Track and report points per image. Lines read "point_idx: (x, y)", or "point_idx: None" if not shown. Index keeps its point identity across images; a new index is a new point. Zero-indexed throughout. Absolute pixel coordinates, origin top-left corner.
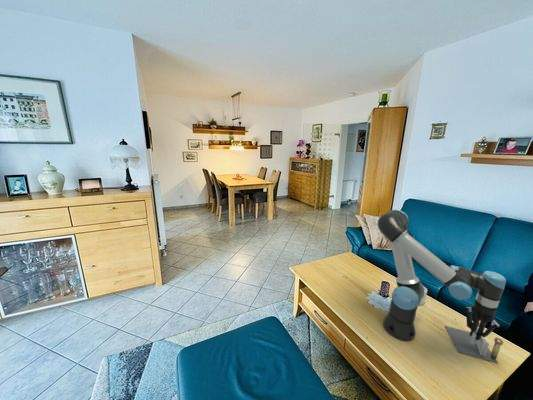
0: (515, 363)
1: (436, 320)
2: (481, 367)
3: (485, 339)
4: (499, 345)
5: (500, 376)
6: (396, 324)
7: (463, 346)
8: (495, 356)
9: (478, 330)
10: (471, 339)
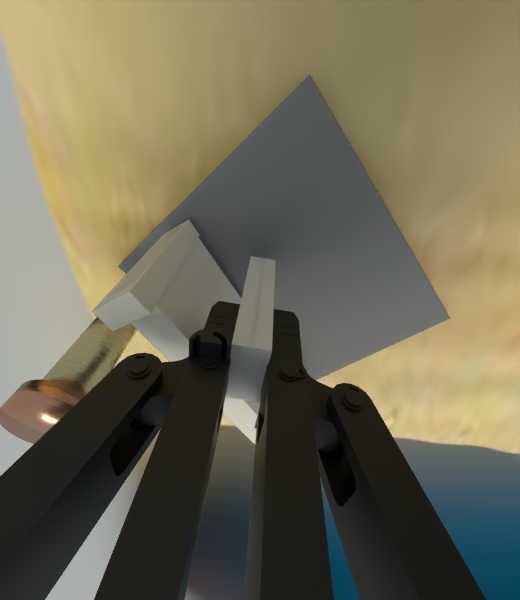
0: None
1: (504, 326)
2: (125, 85)
3: (172, 359)
4: (50, 372)
5: (30, 137)
6: None
7: (300, 208)
8: None
9: (205, 418)
10: (268, 281)
